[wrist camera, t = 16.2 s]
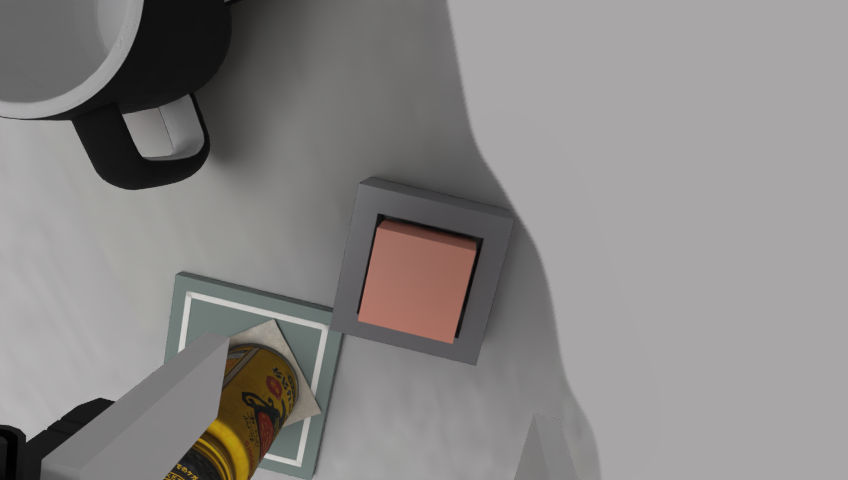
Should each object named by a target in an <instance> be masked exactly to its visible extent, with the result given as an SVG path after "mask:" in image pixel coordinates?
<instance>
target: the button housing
mask: <svg viewBox="0 0 848 480" xmlns="http://www.w3.org/2000/svg"><path fill="white" fill-rule="evenodd" d="M385 219H390V220H394V221H398V222H402V223H406V224H411V225H415V226H419V227H423V228H427V229H432V230H436V231H440V232H444V233H448V234H453V235H457V236H461V237H465V238H469V239H474V240H475V243H476V253H475V257H474V261H473V265H472V269H471V273H470V277H469V281H468V285H467V289H466V293H465V296H464V300H463V304H462V308H461V312H460V316H459V320H458V324H457V328H456V332H455V336H454V340H453V344H451V343H447V342H443V341H439V340H434V339H430V338H426V337H422V336H418V335H414V334H410V333H406V332H402V331H398V330H394V329H389V328H385V327H381V326H377V325H373V324H369V323H365V322H361V321H358V317H359V312H360V308H361V303H362V298H363V293H364V289H365V284H366V279H367V275H368V270H369V265H370V260H371V256H372V251H373V246H374V242H375V237H376V232H377V228H378V227H379V225H380V224H381V223H382V222H383V221H384V220H385ZM514 221H515V220H514V218H513V216H512V214H511V212H510V210H508V209H504V208H500V207H495V206H491V205H487V204H483V203H479V202H474V201H470V200H466V199H462V198H457V197H453V196H449V195H445V194H440V193H436V192H432V191H428V190H424V189H419V188H415V187H411V186H407V185H402V184H398V183H394V182H390V181H385V180H381V179H377V178H373V177H370V178H368V179H366V180H364V181H362V182H360V183H359V184H358V189H357V194H356V199H355V204H354V209H353V214H352V219H351V224H350V229H349V234H348V239H347V244H346V249H345V254H344V259H343V264H342V269H341V274H340V279H339V284H338V289H337V294H336V299H335V304H334V309H333V314H332V319H331V324H330V329H329V330H332V331H336V332H340V333H345V334H349V335H353V336H357V337H361V338H365V339H369V340H373V341H377V342H381V343H385V344H389V345H393V346H397V347H402V348H406V349H410V350H414V351H418V352H422V353H426V354H430V355H434V356H438V357H442V358H446V359H450V360H454V361H459V362H463V363H467V364H471V365H475V366H476V363H477V360H478V356H479V352H480V348H481V345H482V341H483V337H484V333H485V330H486V326H487V322H488V318H489V315H490V311H491V307H492V303H493V300H494V296H495V292H496V288H497V285H498V281H499V277H500V273H501V270H502V266H503V262H504V258H505V255H506V251H507V247H508V243H509V240H510V236H511V232H512V229H513V225H514Z"/></svg>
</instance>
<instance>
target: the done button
mask: <svg viewBox="0 0 848 480" xmlns="http://www.w3.org/2000/svg"><path fill="white" fill-rule="evenodd" d="M475 253H476V243H475V240H474V239H469V238H465V237H461V236H457V235H453V234H448V233H444V232H440V231H436V230H432V229H427V228H423V227H419V226H415V225H411V224H406V223H402V222H398V221H394V220H390V219H385V220H384V221H383V222H382V223H381V224H380V225H379V227H378V228H377V232H376V237H375V242H374V246H373V251H372V256H371V260H370V265H369V270H368V275H367V279H366V284H365V289H364V293H363V298H362V303H361V308H360V312H359V317H358V321H361V322H365V323H369V324H373V325H377V326H381V327H385V328H389V329H394V330H398V331H402V332H406V333H410V334H414V335H418V336H422V337H426V338H430V339H434V340H439V341H443V342H447V343H451V344H453V340H454V336H455V332H456V328H457V324H458V320H459V316H460V312H461V308H462V304H463V300H464V296H465V293H466V289H467V285H468V281H469V277H470V273H471V269H472V265H473V261H474V257H475Z"/></svg>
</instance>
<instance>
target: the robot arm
mask: <svg viewBox="0 0 848 480" xmlns="http://www.w3.org/2000/svg"><path fill="white" fill-rule="evenodd" d="M229 340H230V337H227V336H223V335H219V334H215V333H210V332H205V333H203V334H202V335H201V336H199V337H198V338H197V339H196V340H194V341H193V342H192V343H190V344H189V345H188V346H187V347H185V348H184V349H183V350H182V351H180V352H179V353H178V354H176V355H175V356H174V357H173V358H171V359H170V360H169V361H167V362H166V363H165V364H164V365H162V366H161V367H160V368H158V369H157V370H156V371H155V372H153V373H152V374H151V375H150V376H148V377H147V378H146V379H144V380H143V381H142V382H141V383H139V384H138V385H137V386H135V387H134V388H133V389H132V390H130V391H129V392H128V393H126V394H125V395H124V396H123V397H121V398H120V399H119V400H118V401H116V402H115V401H111V400H107V399H103V398H98V399H95V400H92V401H90V402H87V403H84V404H81V405H79V406H77V407H75V408H74V409H73V410H71V411H70V412H68V413H67V414H66V415H64V416H63V417H62V418H61V420H57V421H56V422H55V423H53V424H52V425H50V426H49V427H48V428H47V430H43V431H42V432H41V433H39V434H38V435H36V436H35V437H34V438H32V439H31V440H29V441H28V442H27V443H26V435H25V434H24V433H23V432H22V431H21V430H20V429H18V428H15V427H12V426H9V425H0V480H163V479H164V478H165V477H166V475H167V474H168V473H169V472H170V471H171V470H172V469H173V467H174V466H175V465H176V464H177V463H178V462H179V460H180V459H181V458H182V457H183V456H184V455H185V453H186V452H187V451H188V450H189V449H190V448H191V447H192V445H193V444H194V443H195V442H196V441H197V440H198V438H199V437H200V436H201V435H202V434H203V433H204V431H205V430H206V429H207V428H208V427H209V426H210V425H211V423H212V422H213V421H214V420H215V419H216V418H217V415H218V409H219V403H220V396H221V390H222V384H223V378H224V371H225V365H226V359H227V353H228V347H229ZM514 480H578V479H577V475H576V472H575V469H574V466H573V463H572V459H571V456H570V453H569V450H568V446H567V443H566V440H565V437H564V434H563V430H562V427H561V424H560V421H559V419H556V418H552V417H548V416H544V415H540V414H536V413H534V415H533V419H532V422H531V425H530V429H529V432H528V435H527V439H526V442H525V445H524V449H523V452H522V455H521V459H520V462H519V465H518V468H517V472H516V475H515V478H514Z"/></svg>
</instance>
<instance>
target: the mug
mask: <svg viewBox="0 0 848 480" xmlns="http://www.w3.org/2000/svg"><path fill="white" fill-rule="evenodd" d="M238 1H241V0H0V117H3V118H9V119H20V120H71V121H72V123H73V125H74V127H75V129H76V132H77V134H78V136H79V138H80V140H81V142H82V144H83V146H84V148H85V150H86V152H87V154H88V156H89V158H90V160H91V162H92V164H93V166H94V168H95V170H96V172H97V173H98V174H99V175H100V177H101V178H102V179H103V180H105V181H106V182H108V183H110V184H112V185H114V186H117V187H119V188H123V189H128V190H139V189H146V188H152V187H158V186H163V185H168V184H172V183H176V182H179V181H182V180H184V179H186V178H188V177H190V176H192V175H193V174H194V173H196V172H197V171H198V170H199V169H200V168H201V167H202V165H203V164H204V162H205V161H206V159H207V157H208V155H209V151H210V139H209V134H208V131H207V128H206V125H205V122H204V119H203V116H202V114H201V111H200V108H199V106H198V103H197V100H196V98H195V95H194V92H195V91H197V90H198V89H199V88H201V87H202V86H203V85H204V84H206V83H207V82H208V81H209V80H210V79H211V78H212V77H213V75H214V74H215V73H216V72H217V71H218V69H219V67H220V65H221V64H222V62H223V60H224V58H225V55H226V53H227V50H228V47H229V42H230V37H231V12H230V5H231V4H233V3H236V2H238ZM156 107H159V110H160V113H161V115H162V118H163V120H164V123H165V126H166V128H167V131H168V134H169V137H170V140H171V143H172V146H173V153H172V155H170V156H163V157H142V156H141V155H140V153H139V151H138V150H137V148H136V146H135V144H134V142H133V140H132V137H131V135H130V133H129V130H128V128H127V126H126V123H125V121H124V118H123V116H122V114H127V113H132V112H137V111H142V110H147V109H151V108H156Z"/></svg>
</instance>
